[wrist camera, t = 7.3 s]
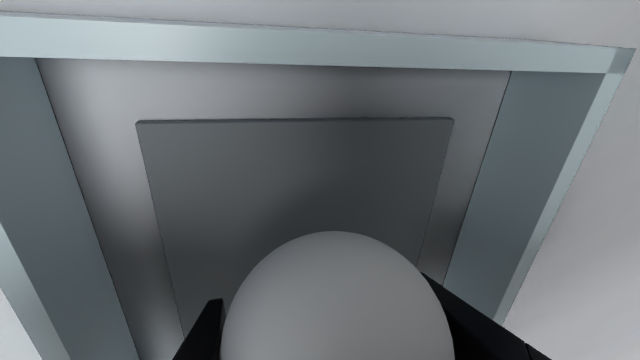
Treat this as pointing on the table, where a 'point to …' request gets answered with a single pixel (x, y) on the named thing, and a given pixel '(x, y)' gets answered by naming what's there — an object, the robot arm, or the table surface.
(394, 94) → the table surface
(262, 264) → the ball
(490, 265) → the light blue tray
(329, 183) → the pad
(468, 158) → the table surface
